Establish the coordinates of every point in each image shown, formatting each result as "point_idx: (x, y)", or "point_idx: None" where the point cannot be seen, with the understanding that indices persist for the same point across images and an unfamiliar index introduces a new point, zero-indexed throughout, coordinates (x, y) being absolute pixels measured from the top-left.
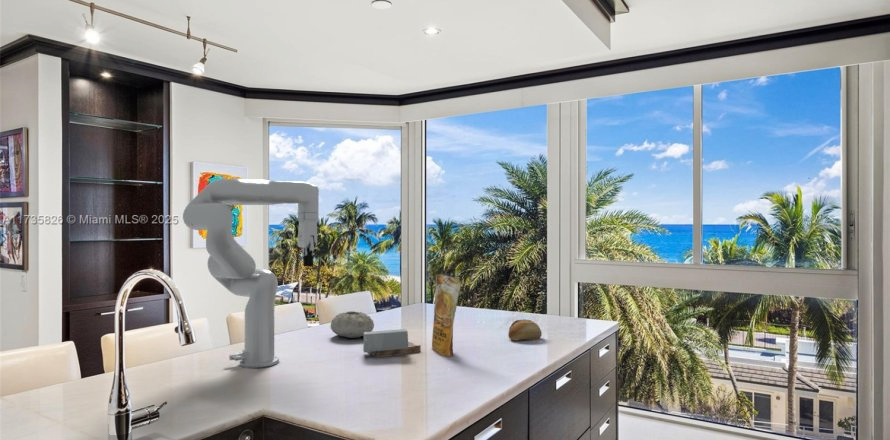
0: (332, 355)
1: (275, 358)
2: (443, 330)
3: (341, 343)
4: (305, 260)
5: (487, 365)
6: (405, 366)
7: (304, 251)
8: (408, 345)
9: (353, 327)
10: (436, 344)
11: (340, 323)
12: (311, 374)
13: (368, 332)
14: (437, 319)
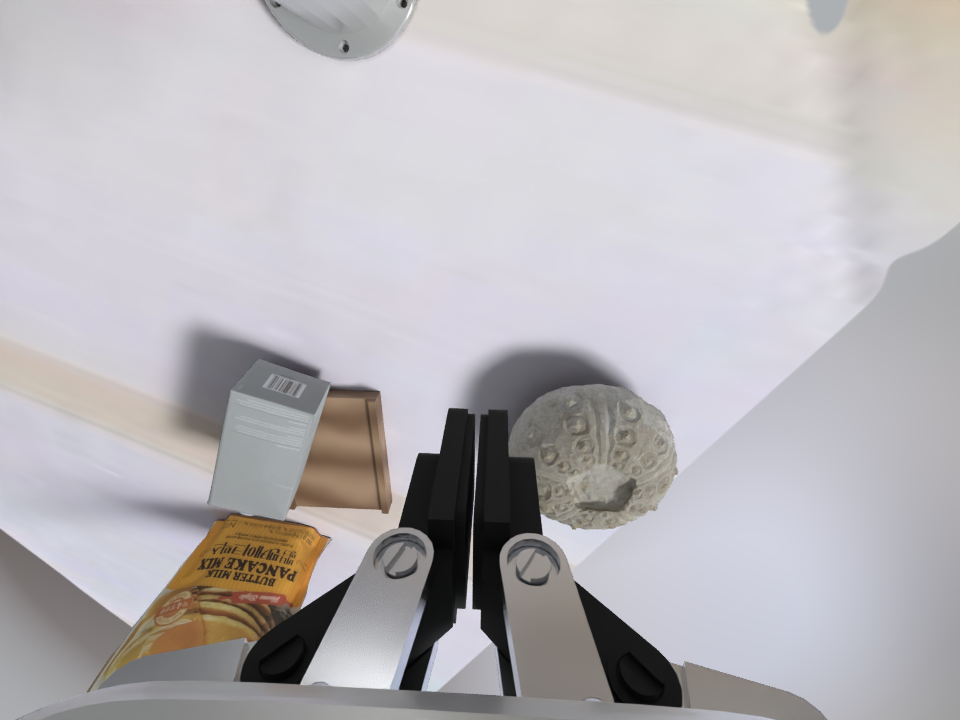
0: (349, 282)
1: (328, 38)
2: (203, 576)
3: (504, 367)
4: (439, 469)
5: (123, 540)
6: (152, 406)
7: (505, 619)
8: (322, 492)
9: (514, 439)
10: (257, 534)
11: (556, 415)
12: (114, 127)
13: (270, 417)
14: (235, 606)
